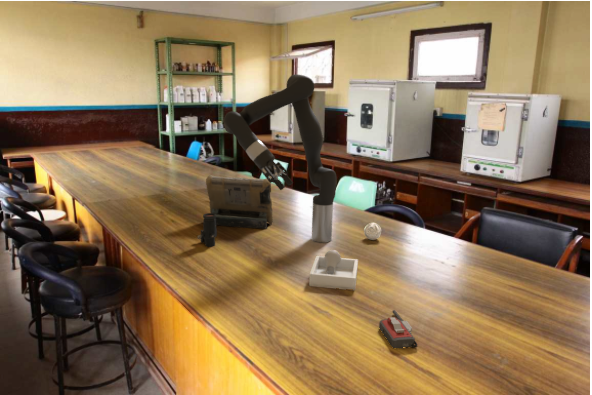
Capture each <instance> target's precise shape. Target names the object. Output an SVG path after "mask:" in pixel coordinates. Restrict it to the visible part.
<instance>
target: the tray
mask: <svg viewBox="0 0 592 395" xmlns="http://www.w3.org/2000/svg"><path fill="white" fill-rule="evenodd" d="M324 257H325V255H323V256H322V255H316V256H315V259H314V262H313V265H312V268H311V270H310V272H309V281H308V282H309V285H308V286H309V287H318V288H328V289H336V288H339V290H346V289H353V290H352V291H356V284H357V276H358V266H359V258H358V259H357V258H348V257H346V258H345V257H341V260H340V262H339V263H338V265H337V266H336V267H335V270H334V273H333V274H332V275H330V274H327V264H326V262H325V259H324Z"/></svg>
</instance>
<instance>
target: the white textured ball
mask: <svg viewBox="0 0 592 395" xmlns="http://www.w3.org/2000/svg"><path fill="white" fill-rule="evenodd" d="M363 233H364V236H365V237H366V239H368V240H370V241H371V240H372V241H375V240H377V239H379V238H380V236H381V233H382V228H381V226H380V225H379V224H378V223H376V222H370V223H368V224H366V226H365V227H364V229H363Z"/></svg>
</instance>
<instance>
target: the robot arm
mask: <svg viewBox="0 0 592 395" xmlns="http://www.w3.org/2000/svg"><path fill="white" fill-rule="evenodd" d="M286 81H287V82H286V88H284V89H282V90H280V91H278V92H275V93H272V94H268V95H266V96H262V97H260V98H258V99H256V100H254V101H253V102H250V103H249V104H247V105H245V106H244V107H243V109H242V111H239V112H237V111H234V110H233V111H228V112H226V114H225V116H224V118H223V124H224V125H223V126H224V130H225V132H226V133H228V134H230V135H234V136H235V137H236V139H237V142H238V144H239V145H240V146H241V148H242V149H243V150H244V151H245V153H246V154H247V156H248V157H249V158H250V160H252V162H253V163H254V164H255V166H257V168H258V169H259V170H260V172H261V173H262V174H263V176H264V177H265V179H267V180H268V181H269V182H270V183H271V184H274V185H275V186H276V187H277V188H278V190H280V191H282V190H284V189H285V188H286V186H285V184H284V183H283V182H282V181H281V180H280V179H279V177H280V178H281V179H282V180H283V181H284V182H285V183H286V185H287V186H291V185H292V184H293V183H294V182H293V181H292V179H291V178H290V176H288V174H289V172H288V170H287V169H286V168H285V167H284V166H283V165H282V164H281V162H280V161H277V162H275V159H276V157H275V155H274V154H273V153H272V152H271V151H270V149H269V148H268V146H266V145H265V143H264V142H262V141H261V140H260V139H259V137H258V136H257V135H256V134H255V133H254V131H252V129H251V128H250V126H252V124H253V123H255V122H257V121H258V120H260V119H261V120H262V119H263V118H265V117H266V116H268V115H269V114H272V113H273V112H275V111H277V110H279V109H282V108H283V107H285V106H289V105H292V107H293V111H294V114H295V115H294V116H295V119H296V124H297V126H298V132H299V135H300V139H301V142H302V145H303V146H302V147H303V150H304V154H305V159H306V163H307V169H308V176H309V180H310V183H311V184H312V185H313V187H316V188H319V193H318V194H316V195H314V196H313V197H312V215H311V240H312V241H313V242H318V243H328V242H331V241H332V237H333V236H332V234H333V217H334V215H333V213H334V199H335V198H336V190H337V174H336V171H335V170H333V169H330V168H327V167H324V166H323V163H322V160H321V159H322V158H321V151H322V147H323V144H324V137H323V136H324V135H323V131H322V127H321V125H320V121H319V120H318V117H317V115H316V114H315V112H314V110H313V109H312V107H311V104H310V101H309V100H310V99H309V98H310V97H311V96H312V95H313V93H314V91H315V82H314V80H313V79H312V78H310V77H309V76H307V75H302V74H292V75H290V76H289V78H288V79H287V80H286Z"/></svg>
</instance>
